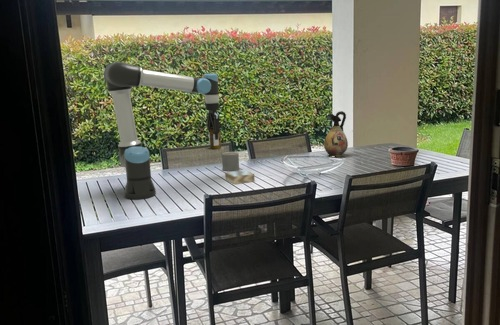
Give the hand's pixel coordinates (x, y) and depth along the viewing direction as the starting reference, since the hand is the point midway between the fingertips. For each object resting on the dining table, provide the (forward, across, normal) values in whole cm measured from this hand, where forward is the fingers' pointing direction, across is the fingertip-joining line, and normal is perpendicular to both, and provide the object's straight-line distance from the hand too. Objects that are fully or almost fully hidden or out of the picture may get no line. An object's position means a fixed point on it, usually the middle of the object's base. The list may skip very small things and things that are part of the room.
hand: (214, 144), depth 250 cm
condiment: (+3, 0, 0) cm, 3 cm away
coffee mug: (+19, +16, -15) cm, 29 cm away
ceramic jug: (+19, +12, -91) cm, 94 cm away
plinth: (+19, -13, -9) cm, 25 cm away
